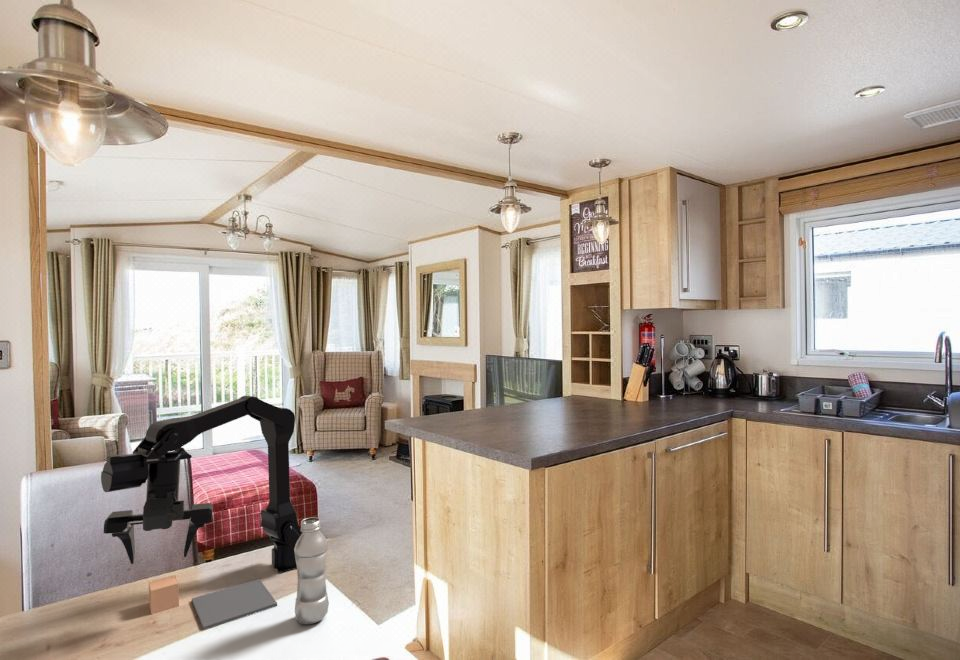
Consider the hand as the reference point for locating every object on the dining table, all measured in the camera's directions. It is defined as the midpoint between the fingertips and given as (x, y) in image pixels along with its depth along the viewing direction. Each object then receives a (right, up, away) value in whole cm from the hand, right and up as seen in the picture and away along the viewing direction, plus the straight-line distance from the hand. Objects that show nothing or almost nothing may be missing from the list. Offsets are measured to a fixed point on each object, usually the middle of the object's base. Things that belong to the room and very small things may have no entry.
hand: (159, 559), depth 106 cm
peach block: (-2, -12, +5) cm, 13 cm away
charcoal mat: (+13, -12, +5) cm, 18 cm away
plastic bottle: (+32, -12, -1) cm, 34 cm away
